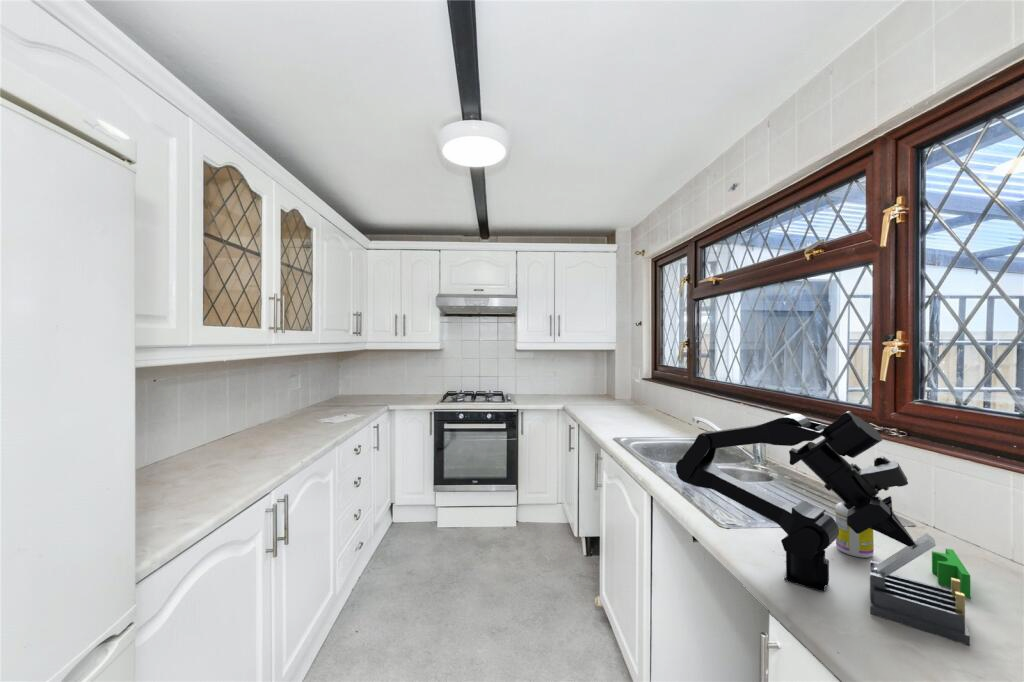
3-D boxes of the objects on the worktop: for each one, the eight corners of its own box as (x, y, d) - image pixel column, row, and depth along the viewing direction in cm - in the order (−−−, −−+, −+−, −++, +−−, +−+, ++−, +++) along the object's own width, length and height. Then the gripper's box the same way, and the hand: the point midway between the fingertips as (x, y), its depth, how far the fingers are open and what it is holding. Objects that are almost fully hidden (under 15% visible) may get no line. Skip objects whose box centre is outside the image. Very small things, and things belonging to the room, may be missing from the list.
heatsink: (870, 614, 75) (869, 575, 74) (870, 587, 82) (870, 553, 82) (969, 645, 67) (969, 602, 67) (960, 613, 74) (960, 575, 74)
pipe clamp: (928, 566, 90) (928, 544, 90) (953, 571, 88) (953, 549, 88) (942, 592, 80) (942, 568, 80) (970, 599, 78) (970, 574, 78)
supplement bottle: (874, 550, 96) (874, 494, 96) (872, 562, 91) (872, 503, 91) (837, 541, 101) (836, 487, 100) (834, 552, 96) (833, 495, 96)
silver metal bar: (878, 584, 76) (868, 575, 77) (878, 576, 79) (868, 567, 80) (938, 547, 71) (926, 538, 72) (935, 539, 74) (924, 531, 75)
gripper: (871, 457, 71) (968, 543, 64) (872, 435, 85) (952, 504, 78) (814, 493, 76) (897, 576, 69) (824, 467, 90) (894, 534, 83)
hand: (912, 544), depth 74 cm, fingers closed
